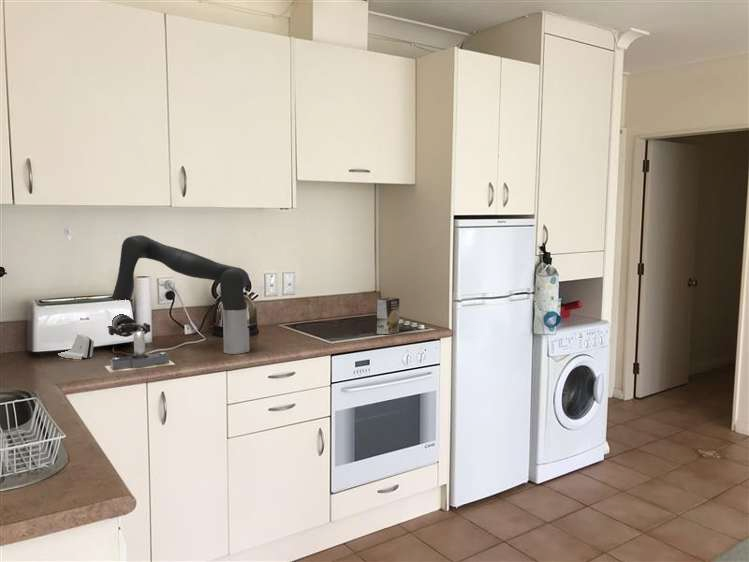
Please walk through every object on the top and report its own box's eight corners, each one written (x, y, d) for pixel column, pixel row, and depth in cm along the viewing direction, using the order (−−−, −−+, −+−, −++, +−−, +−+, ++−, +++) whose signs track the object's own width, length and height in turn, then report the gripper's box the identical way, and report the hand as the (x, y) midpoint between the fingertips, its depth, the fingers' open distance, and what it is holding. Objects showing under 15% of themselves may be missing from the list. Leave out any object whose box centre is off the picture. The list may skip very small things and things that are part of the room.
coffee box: (387, 335, 290) (388, 300, 288) (376, 333, 294) (376, 299, 292) (399, 332, 297) (399, 298, 296) (388, 330, 301) (388, 297, 299)
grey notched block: (164, 360, 236) (164, 350, 236) (170, 364, 230) (169, 354, 230) (109, 366, 226) (109, 356, 226) (113, 370, 220) (113, 360, 219)
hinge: (49, 356, 244) (56, 330, 246) (60, 358, 248) (66, 333, 250) (81, 361, 237) (87, 334, 239) (91, 362, 241) (97, 336, 243)
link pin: (144, 363, 231) (143, 330, 229) (146, 365, 228) (145, 332, 226) (133, 364, 229) (132, 331, 227) (136, 366, 226) (134, 333, 224)
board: (167, 360, 238) (167, 358, 238) (175, 366, 230) (175, 364, 230) (104, 368, 226) (104, 366, 226) (110, 374, 218) (110, 372, 218)
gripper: (104, 317, 243) (112, 323, 229) (142, 314, 251) (153, 320, 237) (104, 336, 244) (113, 344, 230) (143, 333, 252) (154, 340, 238)
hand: (133, 332), depth 234 cm, fingers open, 8 cm apart
